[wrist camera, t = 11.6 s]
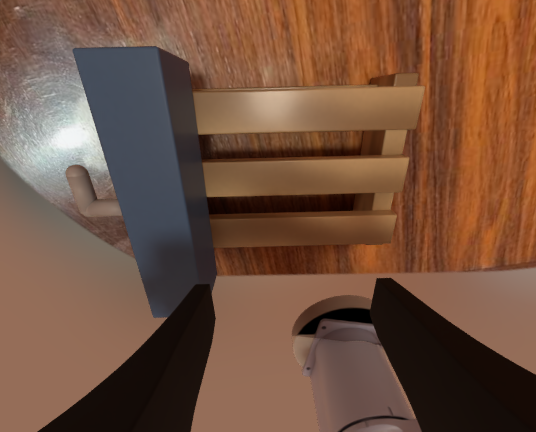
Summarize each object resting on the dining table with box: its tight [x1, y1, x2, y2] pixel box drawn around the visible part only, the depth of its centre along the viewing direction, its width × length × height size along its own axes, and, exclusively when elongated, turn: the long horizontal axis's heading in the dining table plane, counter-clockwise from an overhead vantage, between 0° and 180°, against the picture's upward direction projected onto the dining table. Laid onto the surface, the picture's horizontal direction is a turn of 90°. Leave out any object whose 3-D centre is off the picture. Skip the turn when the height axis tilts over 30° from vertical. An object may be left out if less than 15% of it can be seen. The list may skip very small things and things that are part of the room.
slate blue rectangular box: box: [66, 46, 217, 318], centre depth 12 cm, size 5×12×4 cm, turn 1°
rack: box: [192, 73, 425, 248], centre depth 15 cm, size 10×16×4 cm, turn 91°
